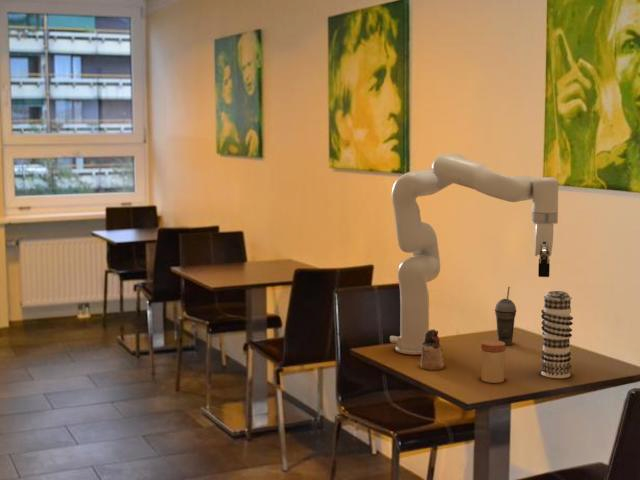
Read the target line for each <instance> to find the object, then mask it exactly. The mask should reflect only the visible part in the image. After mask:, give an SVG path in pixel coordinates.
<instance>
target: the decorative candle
mask: <svg viewBox="0 0 640 480" xmlns="http://www.w3.org/2000/svg"><path fill="white" fill-rule="evenodd" d="M543 298H544V300H543V301H544V303H543V304H544V306H543V309H542V310H541V311H540V312H541V315H540V317H541V319H542V321H541V331H542V333H541V336H542V338H543V343H542V350H541V354H542V355H541V356H540V357H541V362H540V364H541V367H540V369H541V373H540V374H541V376H544V377H546V378H551V379H567V378H569V377H571V371H572V369H571V367H572V364H571V362H570V361H571V360H572V358H571V357H570V356H571V355H572V352H571V346H570V342H571V341H570V339H571V338H572V337H573V334H572V333H571V332H573V329H572V328H571V327H570V326H572V325H574V323H573V322H572V320H573V319H574V317H573V316H572V315H571V313H572V307H571V303H572V302H571V300H572V299H573V298H572V296H570V295H569V293H568V292H566V291H563V290H552V291H548V292H547V293H546V295H544V296H543Z"/></svg>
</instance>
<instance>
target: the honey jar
mask: <svg viewBox="0 0 640 480" xmlns="http://www.w3.org/2000/svg"><path fill="white" fill-rule="evenodd" d="M505 353H506V349H505V350H504V351H501V352H488V351H484V350H482V349H481V370H480V371H481V372H480V373H481V377H480V379H481V382H482V381H483V382H484V383H485V382H486V383H492V384H499V383H503V382H504V381H505V359H506V358H505V355H506V354H505Z"/></svg>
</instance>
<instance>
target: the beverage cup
mask: <svg viewBox="0 0 640 480" xmlns="http://www.w3.org/2000/svg"><path fill="white" fill-rule="evenodd" d="M510 289H511V287H510V286H507V292H506V298H502V299H500V300H499V301H497V302H496V305H495V309H494V315H495V319H496V332H497V334H496V335H497V341H502V342H504V343H505V346H511V345H512V344H513V337H514V329H515V318H516V315H517V307H516V304H515V303H514V301H513V300H511V299H509V298H510V297H509V296H510Z"/></svg>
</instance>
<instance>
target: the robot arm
mask: <svg viewBox="0 0 640 480" xmlns="http://www.w3.org/2000/svg"><path fill="white" fill-rule="evenodd" d="M453 184H455V185H458V186H462V187H465V188H469V189H471V190H475V191H477V192H478V193H481V194H484V195H486V196H489V197H491V198H495V199H498V200H501V201H506V202H509V203H519V202H524V201H530V200H532V205H531V223H532V224H533V225H534V224H535V227H534V257H538V256H539V258H538V268H537V269H538V272H537V274H538V275H537V276H538V277H539V278H550V272H551V271H550V270H551V269H550V267H551V266H550V265H551V263H550V257H551V256H552V252H553V244H554V225H556V224H558V221H559V180H558V179H557V178H556V177H552V176H540V177H534V176H529V175H519V176H518V175H517V176H510V175H506V174H502V173H499V172H496V171H493V170H491V169H489V168H488V167H487V165H486V164H484V163H482V162H479V161H475V160H472V159H468V158H466V157H465V156H464V155H463V154H460V153H457V152H453V153H451V152H450V153H442V154H439V155H438V156H436V158H435V159H434V160H433V162H432V165H431V167H429V168H427V169H422V170H420V169H419V170H412V171H408V172H406V173H403V174H402V175H401V176H399V177H398V178H397V179H396V180H395V182H394V184H393V186H392V189H391V202H392V208H393V214H394V224H395V231H396V239H397V245H398V247H399V249H400V250H401V251H402V252H404V253H408V254H412V256H410V257H408V258H406V259H404V260H403V261H402V262H401V263H400V264H399V266H398V269H397V279H398V287H399V300H400V301H399V304H400V305H399V306H400V307H399V308H400V309H399V311H400V312H399V314H400V319H399V321H400V322H399V323H400V326H399V333H400V335H399V336H396V335H390V336H389V342H390V343H392V344H397V345H396V346H395V351H396V352H397V353H400V354H404V355H414V356H417V355H418V356H422V348H423V346H424V345H423V343H424V341H425V336H426V335H425V334H426V333H427V332H428V331H429V330H430V296H429V290H428V286H427V283H429V282H431V281H434V280H436V278H438V277H439V274H440V272H441V258H440V251H439V246H438V245H439V244H438V243H439V242H438V237H437V233H436V231H435V229H434V228H433V226H432V225H431V224H429V223H427V222H423V221H422V217H421V209H420V207H419V206H420V205H419V204H418V202H417V198H418V197H425V196H432V195H435V194H437V193H438V192H440V191H442V190H444V189H446V188H448V187H449V186H451V185H453Z"/></svg>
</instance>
